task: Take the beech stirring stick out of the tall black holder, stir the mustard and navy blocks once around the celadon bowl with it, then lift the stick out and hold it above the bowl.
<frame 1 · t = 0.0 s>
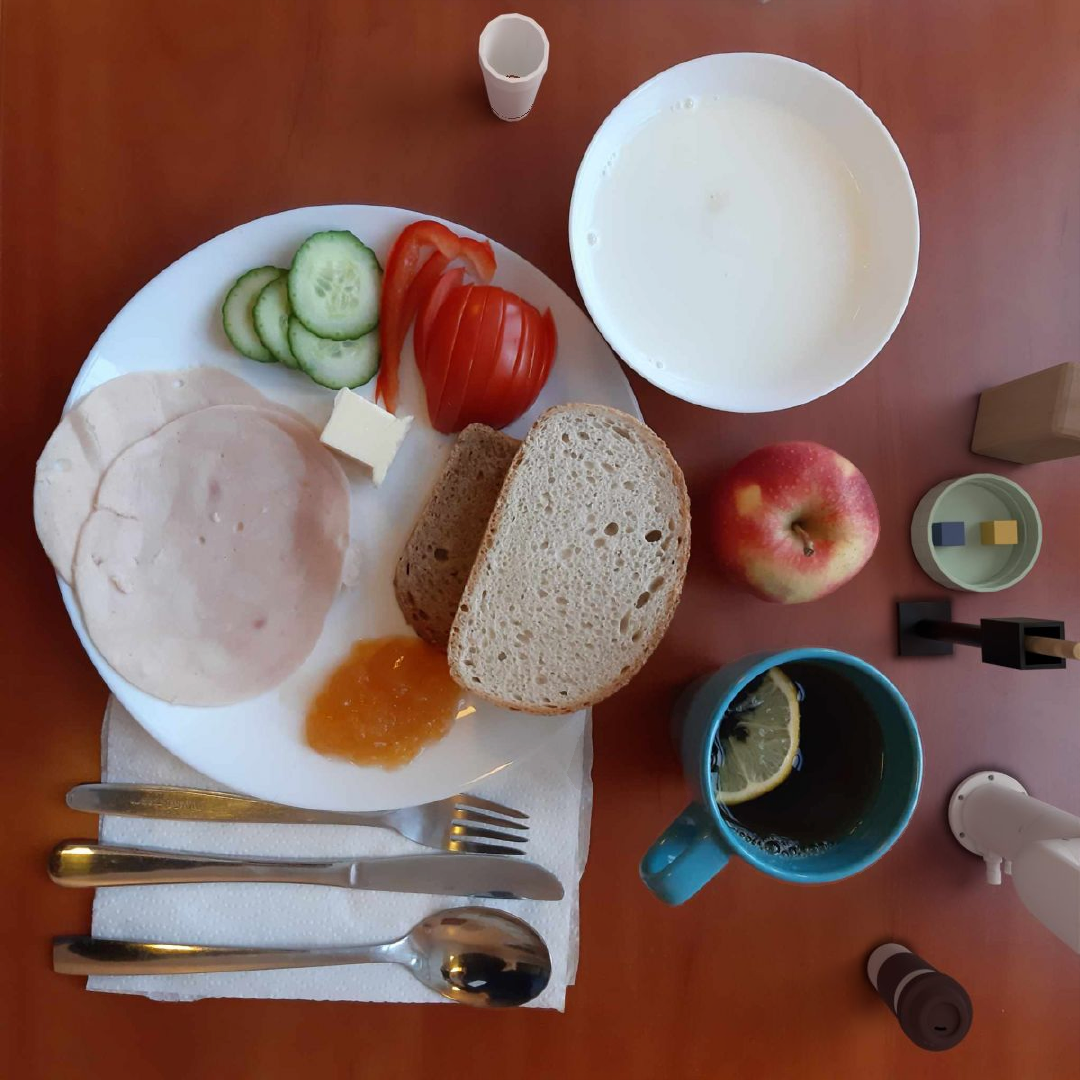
bowl: (964, 534, 129), on the table
stick: (1004, 640, 108), point 20 cm above the table, touching holder
navy block: (940, 534, 128), point 1 cm above the table, touching bowl
mustard block: (991, 533, 129), point 1 cm above the table, touching bowl
wooden block: (1003, 428, 130), on the table
foam cup: (511, 101, 127), on the table
holder: (922, 628, 128), on the table
coffee cup: (889, 966, 127), on the table
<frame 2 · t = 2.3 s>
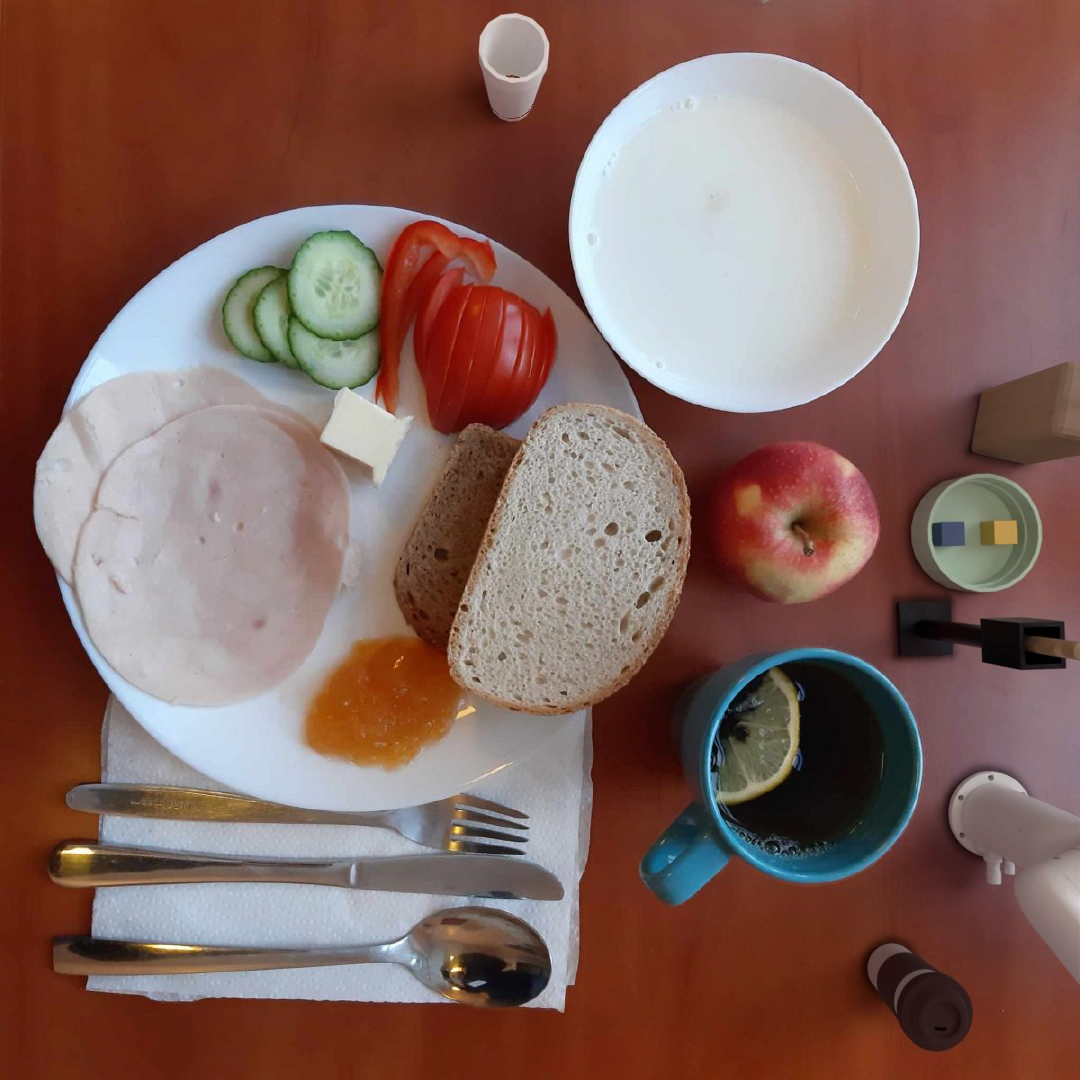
nothing on the table moved.
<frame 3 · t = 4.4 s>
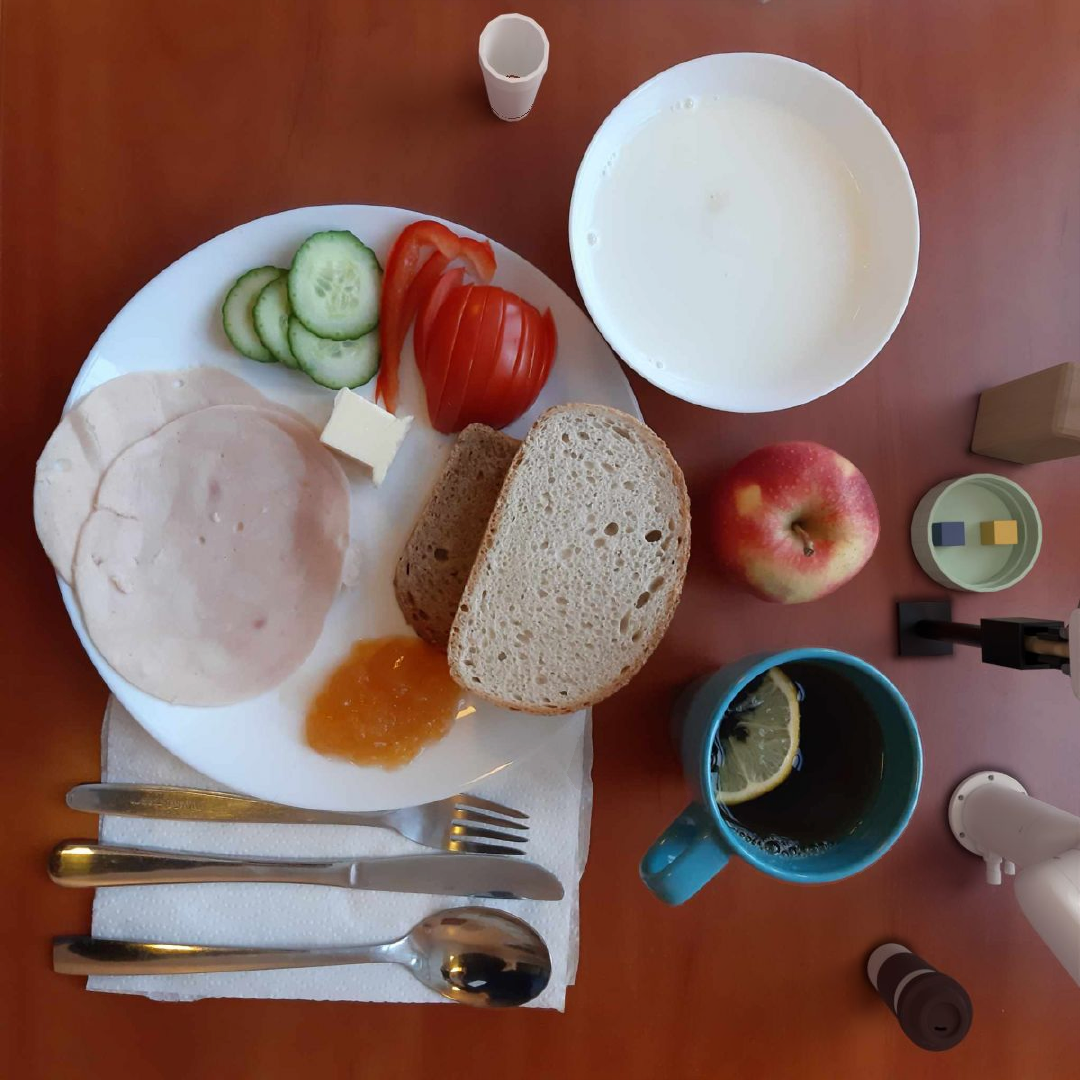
hand: (1049, 646, 100), 29 cm above the table, tool pointing down, fingers closed on stick, 2 cm apart
stick: (1004, 640, 108), point 20 cm above the table, touching gripper, holder
everything else where it was.
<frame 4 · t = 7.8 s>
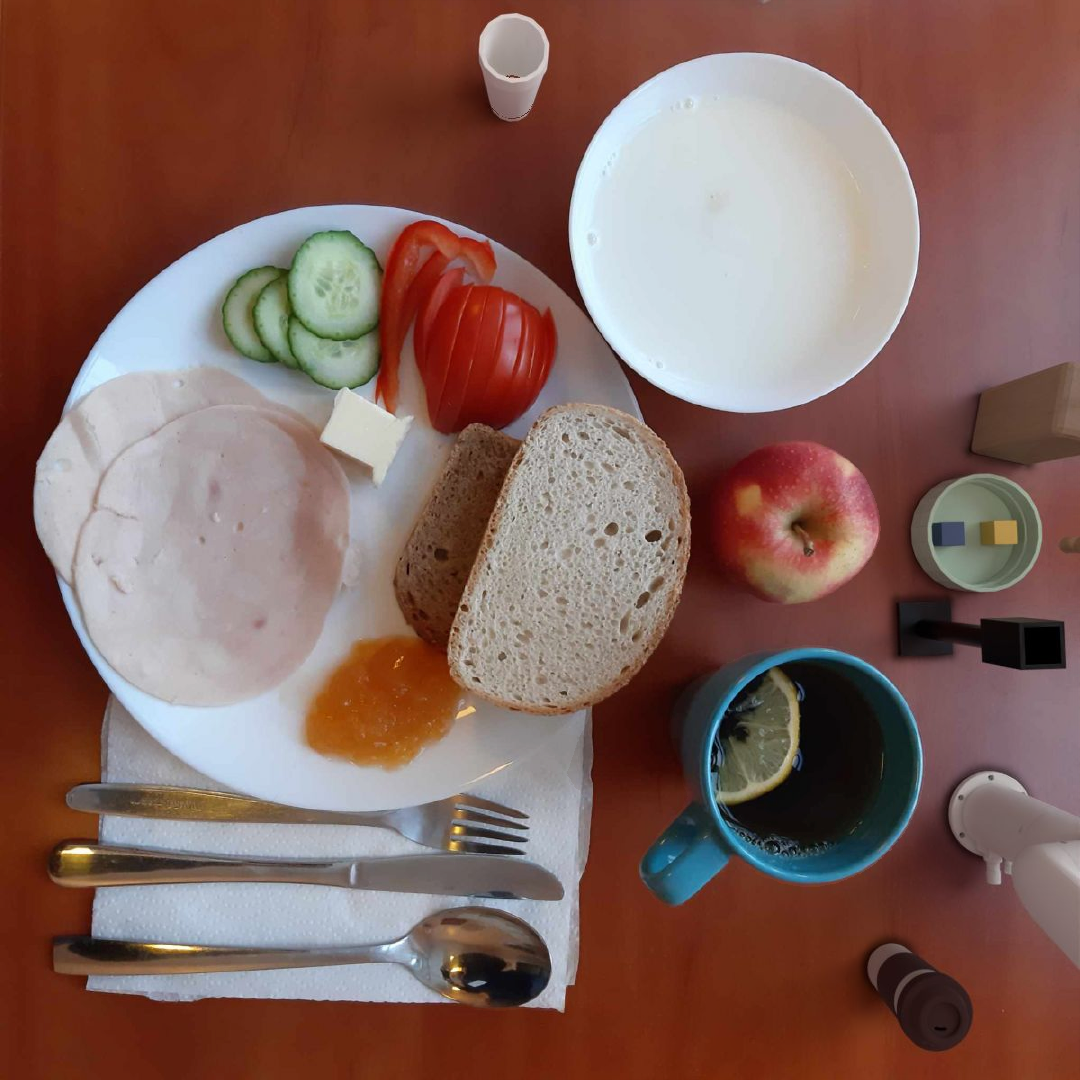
stick: (1066, 545, 106), point 23 cm above the table, touching gripper
everything else where it was.
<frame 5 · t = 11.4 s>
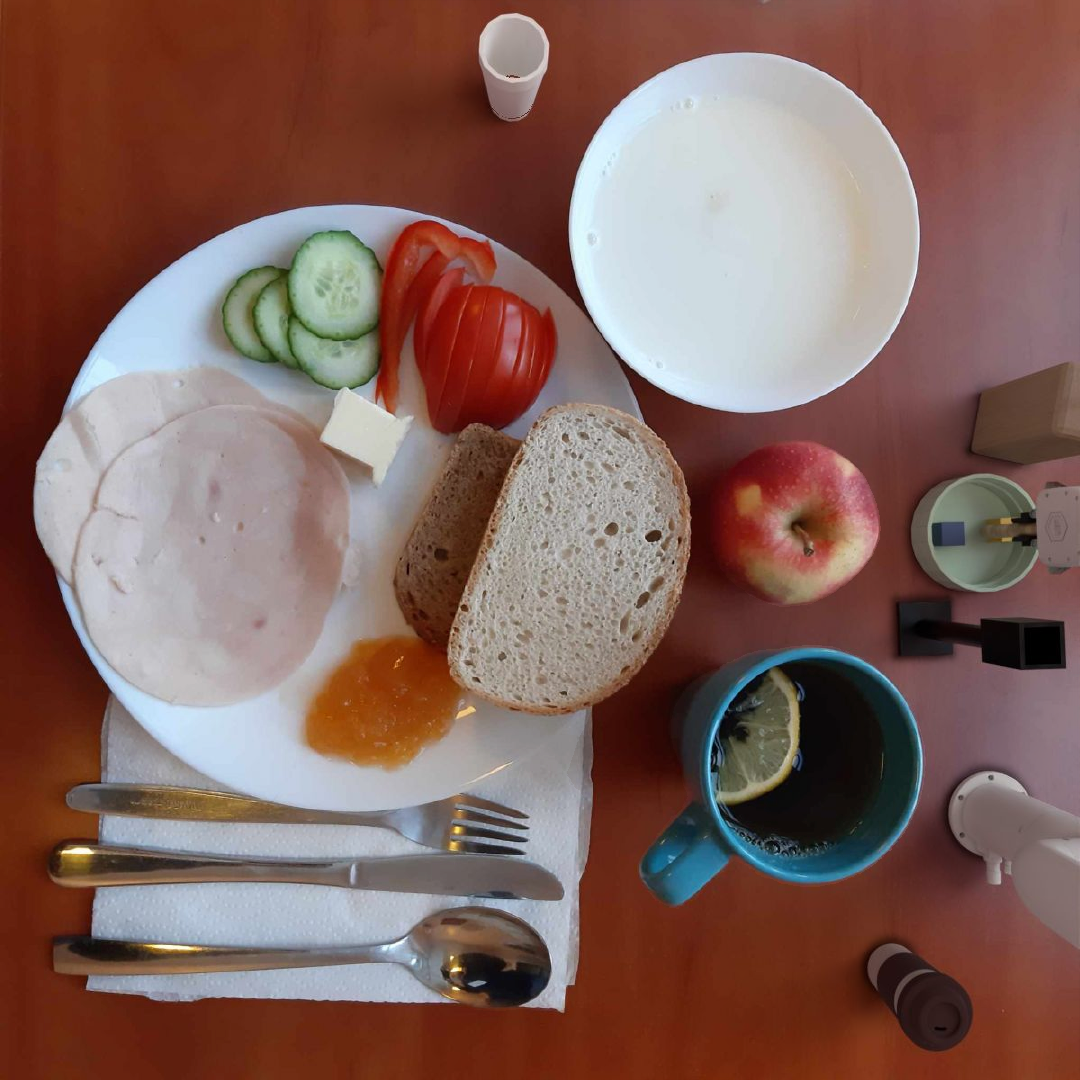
hand: (1021, 529, 119), 10 cm above the table, tool pointing down, fingers closed on stick, 2 cm apart
stick: (985, 531, 127), point 2 cm above the table, touching gripper
mustard block: (998, 530, 129), point 1 cm above the table, touching bowl
everything else where it was.
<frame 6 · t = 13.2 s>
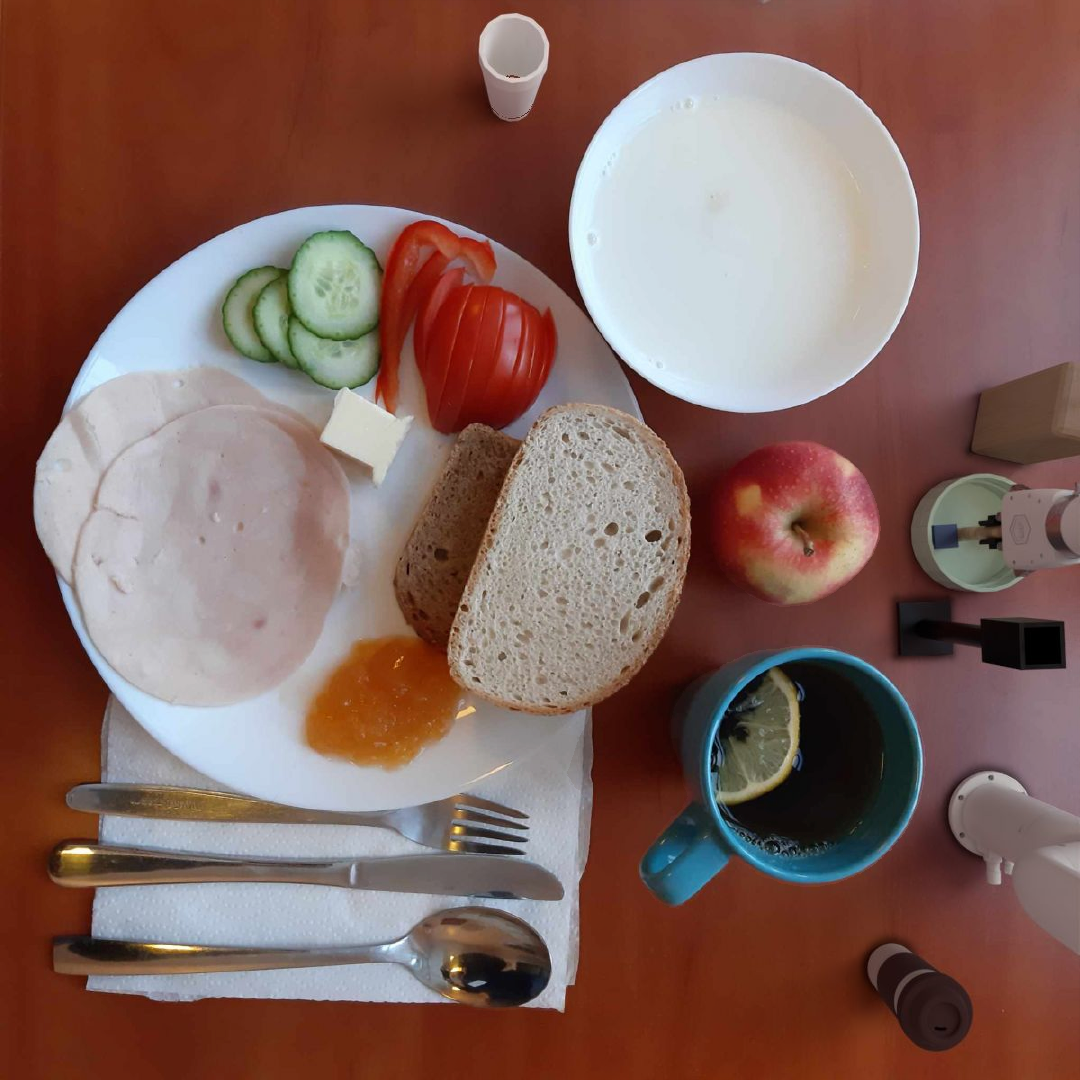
hand: (989, 532, 119), 10 cm above the table, tool pointing down, fingers closed on stick, 2 cm apart
stick: (955, 534, 127), point 2 cm above the table, touching gripper
navy block: (933, 537, 128), point 1 cm above the table, touching bowl
everything else where it was.
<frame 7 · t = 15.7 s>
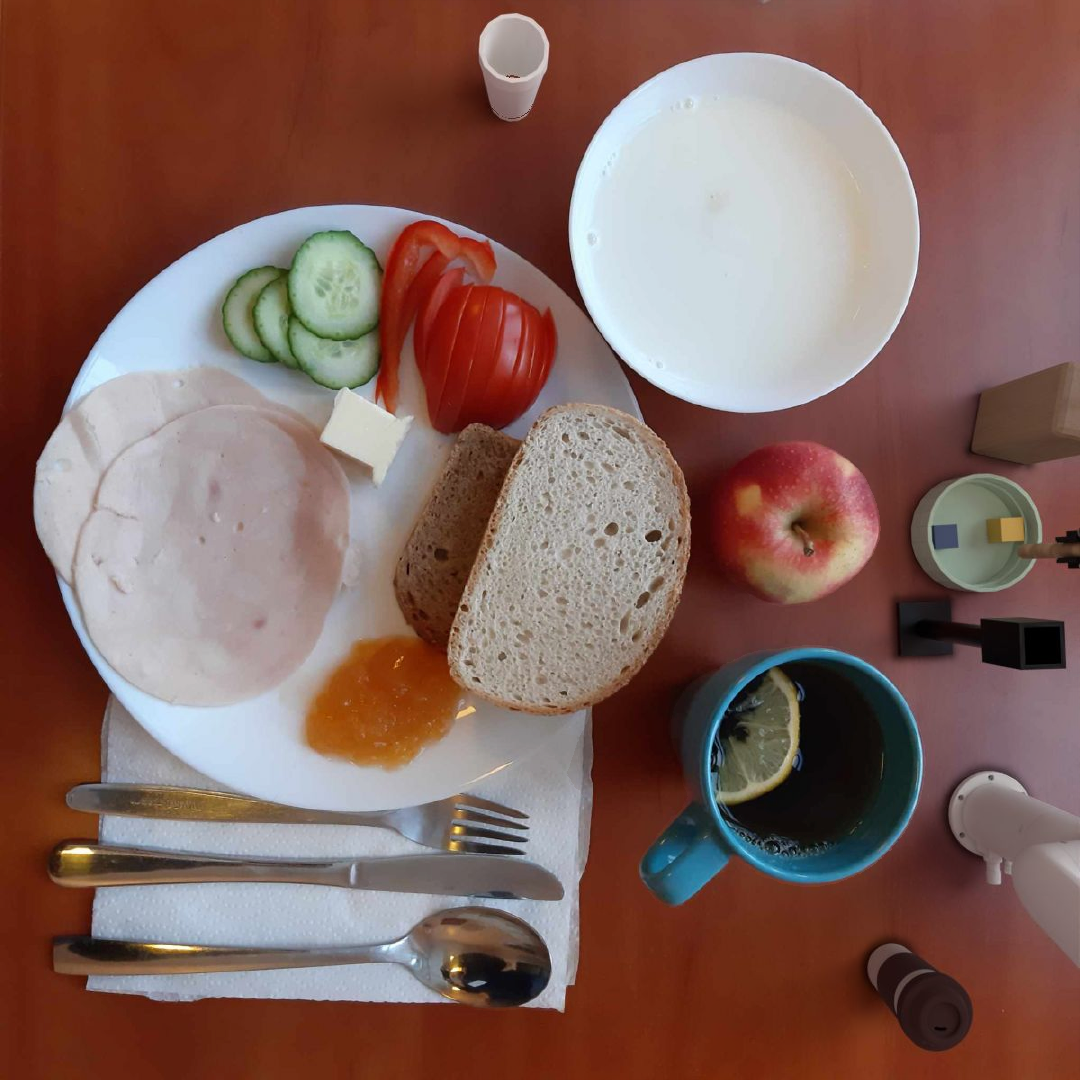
hand: (1067, 549, 106), 23 cm above the table, tool pointing down, fingers closed on stick, 2 cm apart
stick: (1024, 551, 115), point 14 cm above the table, touching gripper
everything else where it was.
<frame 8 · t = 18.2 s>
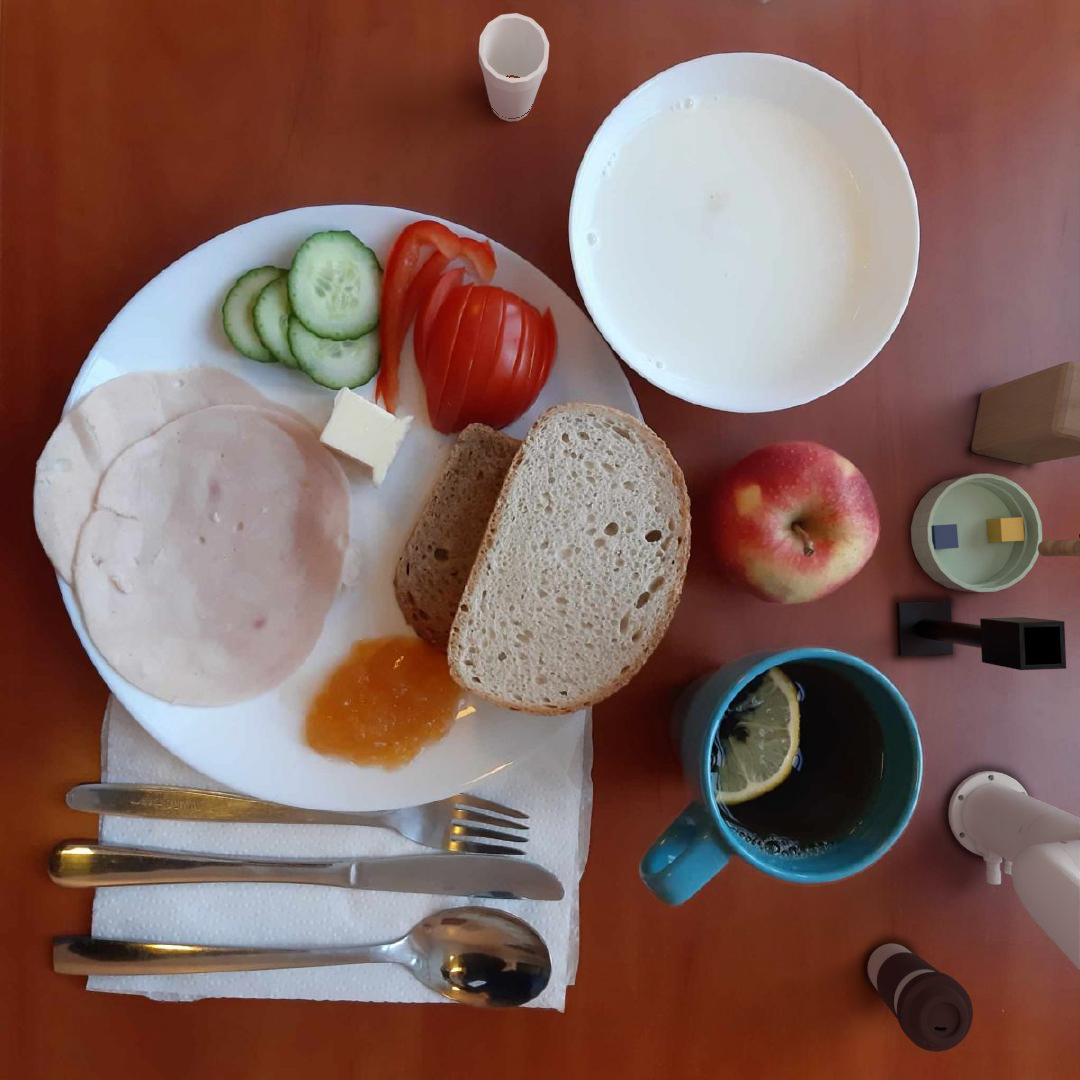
stick: (1044, 548, 111), point 19 cm above the table, touching gripper
everything else where it was.
at the end: mustard block moved 1.1 cm from its start; mustard block inside the target area in the bowl (5.0 cm from its centre), point 0.6 cm above the bowl's base; the gripper is holding stick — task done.
